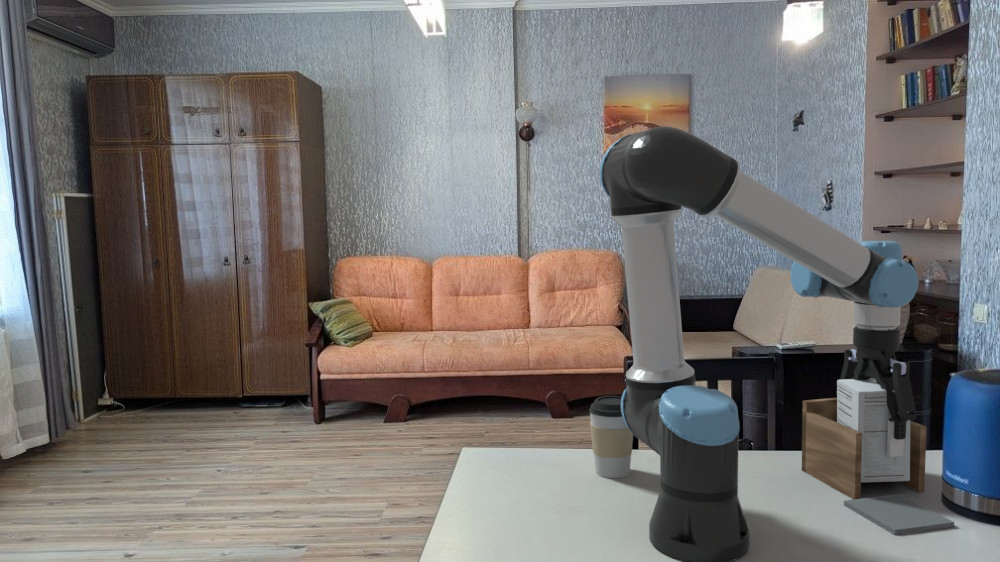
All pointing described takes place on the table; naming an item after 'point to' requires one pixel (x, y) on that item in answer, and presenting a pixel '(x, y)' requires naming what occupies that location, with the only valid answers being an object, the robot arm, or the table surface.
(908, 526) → the rubber mat
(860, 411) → the supplement box
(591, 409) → the coffee cup
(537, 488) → the table surface
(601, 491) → the table surface
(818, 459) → the walnut bay
